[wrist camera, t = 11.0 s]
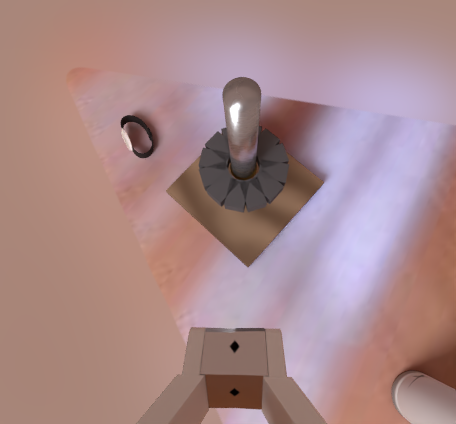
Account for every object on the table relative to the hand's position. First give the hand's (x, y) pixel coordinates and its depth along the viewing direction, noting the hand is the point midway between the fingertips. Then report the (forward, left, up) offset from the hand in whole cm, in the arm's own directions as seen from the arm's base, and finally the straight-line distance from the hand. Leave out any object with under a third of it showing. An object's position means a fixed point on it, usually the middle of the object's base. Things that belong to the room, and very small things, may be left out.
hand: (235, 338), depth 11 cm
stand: (-12, -11, -37) cm, 40 cm away
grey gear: (-12, -11, -28) cm, 32 cm away
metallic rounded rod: (-12, -11, -35) cm, 38 cm away
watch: (-7, -30, -37) cm, 48 cm away
